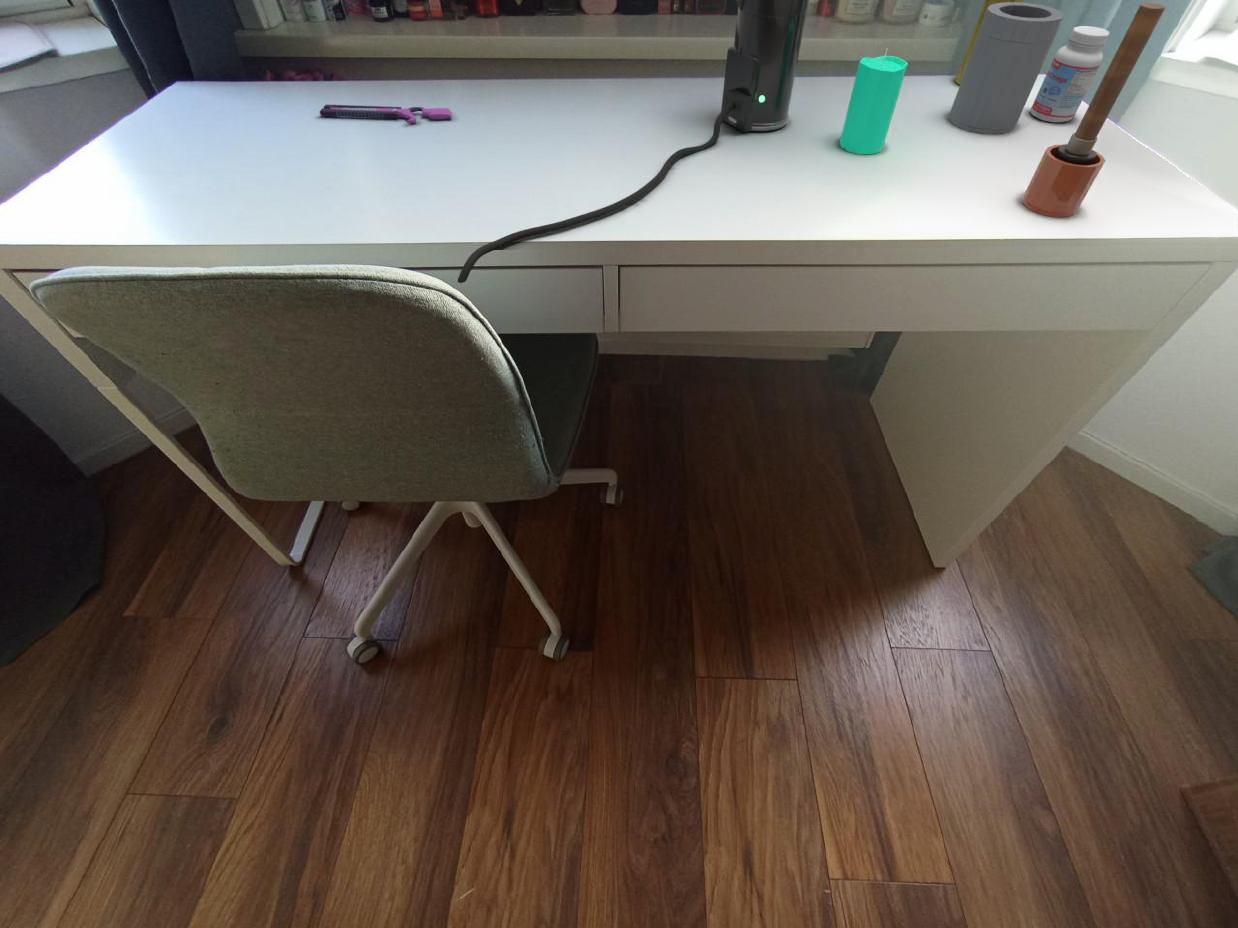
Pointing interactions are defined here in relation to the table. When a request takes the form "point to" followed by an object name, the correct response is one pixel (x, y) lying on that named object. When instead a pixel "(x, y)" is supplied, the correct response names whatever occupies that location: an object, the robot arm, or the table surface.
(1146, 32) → the bottle brush
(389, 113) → the pink toy gun
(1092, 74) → the pill bottle
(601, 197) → the table surface
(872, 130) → the candle
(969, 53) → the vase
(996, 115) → the gray cylindrical container
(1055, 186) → the holder
